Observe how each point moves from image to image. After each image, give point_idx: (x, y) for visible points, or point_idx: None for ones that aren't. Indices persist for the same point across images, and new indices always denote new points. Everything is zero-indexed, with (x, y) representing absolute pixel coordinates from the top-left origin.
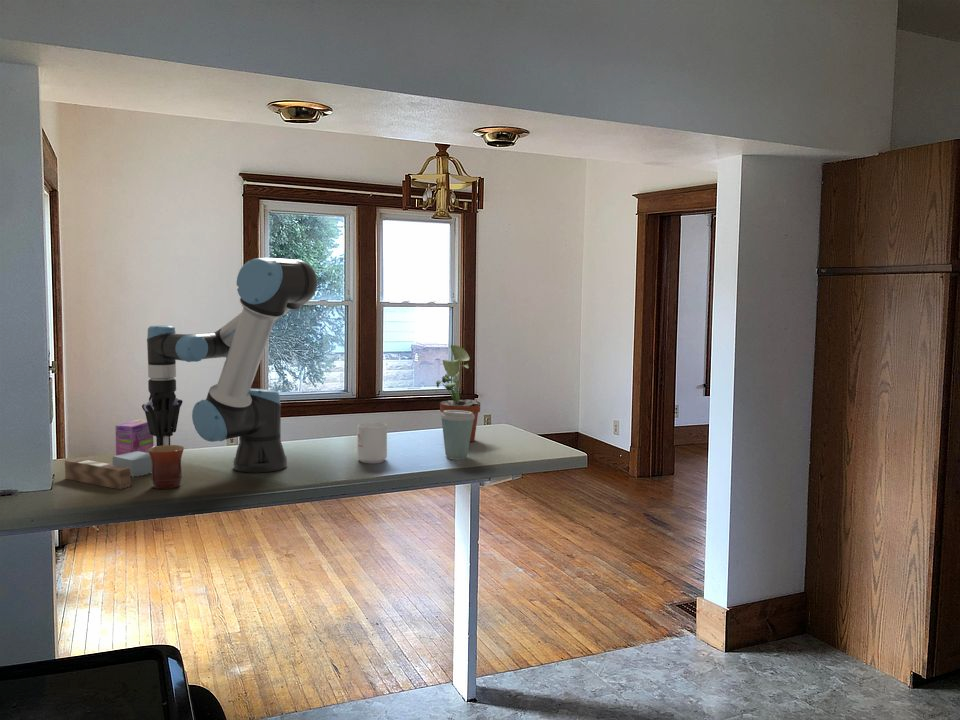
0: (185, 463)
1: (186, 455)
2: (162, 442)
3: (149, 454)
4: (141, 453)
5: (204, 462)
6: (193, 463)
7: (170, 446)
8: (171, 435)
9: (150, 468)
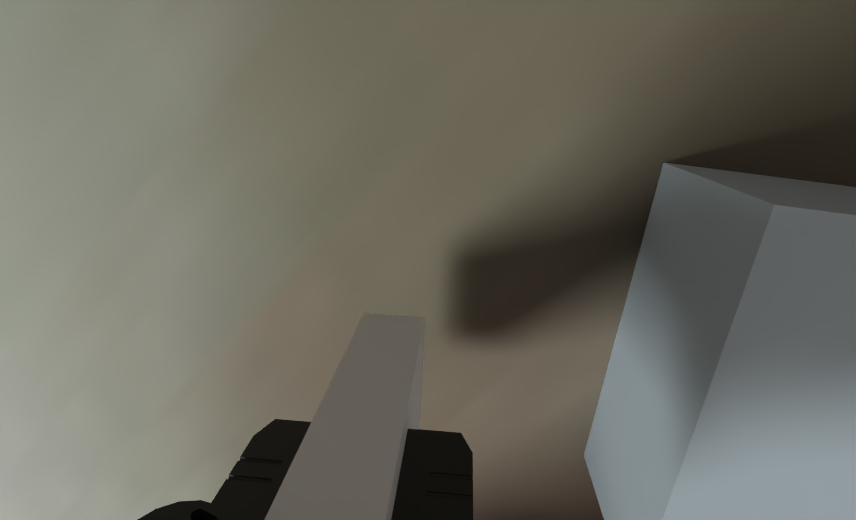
0: (244, 180)
1: (35, 409)
2: (410, 493)
3: (777, 350)
4: (750, 487)
5: (86, 17)
6: (193, 99)
7: None
8: (194, 513)
9: (800, 185)
